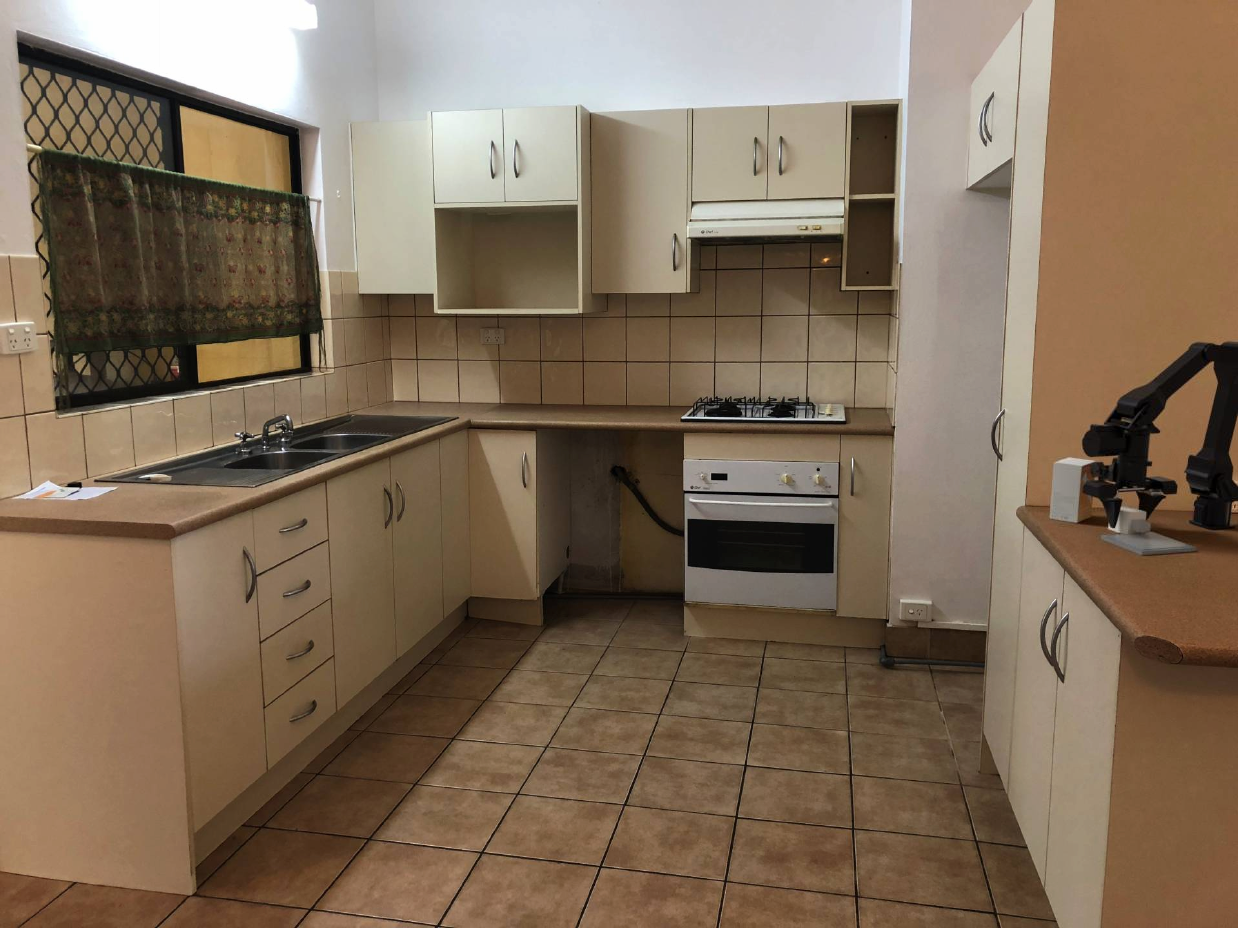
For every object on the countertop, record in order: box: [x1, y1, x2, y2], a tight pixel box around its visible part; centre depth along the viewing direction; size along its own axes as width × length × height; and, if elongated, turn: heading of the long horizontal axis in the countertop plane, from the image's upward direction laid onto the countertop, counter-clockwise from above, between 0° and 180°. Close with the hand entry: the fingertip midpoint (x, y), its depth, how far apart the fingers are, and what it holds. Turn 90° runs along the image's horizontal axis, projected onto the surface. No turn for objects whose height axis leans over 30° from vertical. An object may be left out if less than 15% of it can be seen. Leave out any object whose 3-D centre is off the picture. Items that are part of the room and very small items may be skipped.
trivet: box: [1100, 531, 1196, 556], centre depth 200 cm, size 12×12×1 cm
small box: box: [1049, 456, 1097, 524], centre depth 221 cm, size 8×6×13 cm
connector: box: [1107, 505, 1152, 534], centre depth 209 cm, size 4×8×5 cm, turn 11°
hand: (1126, 526), depth 211 cm, fingers open, 6 cm apart
